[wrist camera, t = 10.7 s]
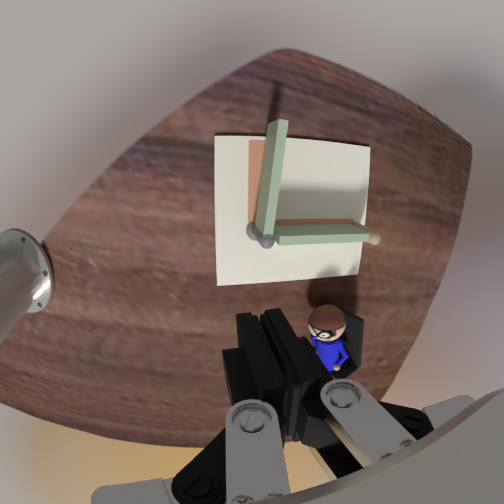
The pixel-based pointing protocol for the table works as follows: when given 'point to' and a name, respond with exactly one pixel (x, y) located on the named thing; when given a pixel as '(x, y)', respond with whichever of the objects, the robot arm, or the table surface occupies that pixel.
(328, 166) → the card
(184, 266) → the table surface
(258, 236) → the hinged fence panel
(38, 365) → the table surface
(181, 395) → the table surface
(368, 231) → the fixed fence panel
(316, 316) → the character figurine
